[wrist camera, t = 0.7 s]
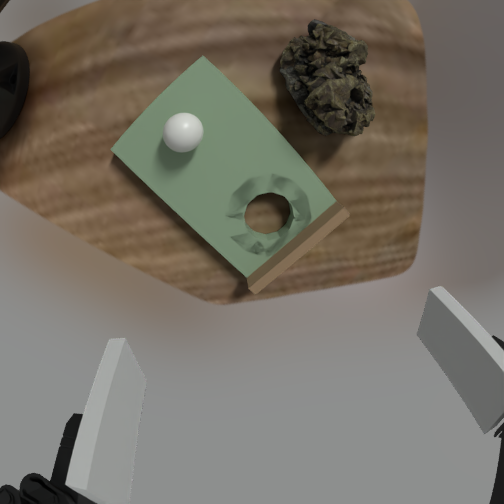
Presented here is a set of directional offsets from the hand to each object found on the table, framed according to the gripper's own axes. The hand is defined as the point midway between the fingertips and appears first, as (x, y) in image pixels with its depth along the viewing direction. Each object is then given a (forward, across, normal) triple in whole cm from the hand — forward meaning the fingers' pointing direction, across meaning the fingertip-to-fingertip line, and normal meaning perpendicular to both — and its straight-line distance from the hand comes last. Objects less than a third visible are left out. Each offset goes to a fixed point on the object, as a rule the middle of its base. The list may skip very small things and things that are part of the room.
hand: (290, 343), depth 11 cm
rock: (+25, +11, +13) cm, 30 cm away
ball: (+20, -5, +8) cm, 23 cm away
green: (+24, -1, +2) cm, 24 cm away
